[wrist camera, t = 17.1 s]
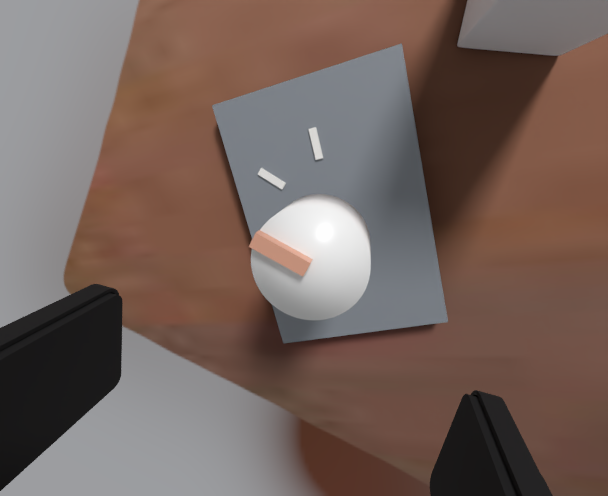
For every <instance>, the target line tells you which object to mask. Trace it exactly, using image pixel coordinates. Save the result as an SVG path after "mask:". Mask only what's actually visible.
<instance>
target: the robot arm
mask: <svg viewBox="0 0 608 496" xmlns="http://www.w3.org/2000/svg"><path fill="white" fill-rule="evenodd" d="M121 345H122V298H121V296H119V293H118V291H117V290H116V289H113V288H110V287H106V286H103V285H99V284H93V285H90V286H88V287H86V288H84V289H82V290H80V291H78V292H75V293H73V294H71V295H69V296H67V297H65V298H63V299H61V300H59V301H56V302H54V303H52V304H50V305H48V306H46V307H44V308H42V309H40V310H38V311H36V312H33V313H31V314H29V315H27V316H25V317H23V318H21V319H18V320H16V321H14V322H12V323H10V324H8V325H6V326H4V327H1V328H0V491H1V490H2V489H3V488H4V487H5V486H6V485H8V484H9V483H10V482H11V481H12V480H13V479H14V478H15V477H16V476H17V475H19V474H20V473H21V472H22V471H23V470H24V469H25V468H26V467H27V466H28V465H30V464H31V463H32V462H33V461H34V460H35V459H36V458H37V457H38V456H40V455H41V454H42V453H43V452H44V451H45V450H46V449H47V448H48V447H50V446H51V445H52V444H53V443H54V442H55V441H56V440H57V439H58V438H59V437H61V436H62V435H63V434H64V433H65V432H66V431H67V430H68V429H69V428H70V427H72V426H73V425H74V424H75V423H76V422H77V421H78V420H79V419H80V418H82V417H83V416H84V415H85V414H86V413H87V412H88V411H89V410H90V409H91V408H93V407H94V406H95V405H96V404H97V403H98V402H99V401H100V400H101V399H103V398H104V397H105V396H106V395H107V394H108V393H109V392H110V391H111V390H113V389H114V388H115V386H116V385H117V384H118V382H119V380H120V377H121V349H122V346H121ZM430 494H431V496H552V494H551V492H550V490H549V488H548V486H547V484H546V482H545V480H544V478H543V477H542V475H541V474H540V472H539V470H538V468H537V466H536V464H535V462H534V460H533V458H532V456H531V454H530V452H529V450H528V448H527V446H526V444H525V442H524V440H523V438H522V436H521V434H520V432H519V430H518V428H517V426H516V424H515V422H514V420H513V418H512V416H511V414H510V412H509V410H508V408H507V406H506V404H505V402H504V401H503V399H502V398H501V397H498V396H495V395H491V394H488V393H484V392H480V391H477V390H475V391H473V392H472V393H471V395H468V394H465V395H464V396H463V397H462V400H461V402H460V405H459V407H458V409H457V412H456V414H455V417H454V419H453V422H452V424H451V427H450V429H449V432H448V434H447V437H446V439H445V442H444V444H443V447H442V449H441V452H440V454H439V457H438V459H437V462H436V464H435V467H434V469H433V471H432V474H431V479H430Z"/></svg>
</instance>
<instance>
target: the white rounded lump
mask: <svg viewBox="0 0 608 496" xmlns="http://www.w3.org/2000/svg"><path fill="white" fill-rule="evenodd" d="M249 247H250V248H252V252H251V267H252V273H253V276H254V279H255V282H256V284H257V286H258V288H259V290H260V291H261V293H262V294H263V295H264V297H265V298H266V299H267V300H268V301H269V302H270V303H271V304H272V305H273V306H275V307H276V308H277V309H279V310H280V311H282V312H284V313H286V314H288V315H290V316H293V317H295V318H299V319H304V320H325V319H329V318H333V317H336V316H338V315H340V314H342V313H344V312H346V311H347V310H349V309H350V308H351V307H353V306H354V305H355V304H356V303H357V302H358V300H359V299H360V298H361V296H362V295H363V293H364V291H365V289H366V287H367V284H368V282H369V277H370V270H371V246H370V235H369V230H368V227H367V225H366V223H365V221H364V219H363V217H362V216H361V215H360V213H359V212H358V211H357V210H356V209H355V208H354V207H353V206H352V205H350V204H349V203H348V202H346V201H344V200H342V199H340V198H338V197H335V196H332V195H326V194H313V195H308V196H304V197H301V198H299V199H297V200H295V201H293V202H292V203H291V204H289V205H288V206H286V207H285V208H284V209H282V210H281V211H280V212H278V213H277V214H276V215H274V216H273V217H272V218H270V219H269V220H268V221H267V222H266V223H265V224H264V225H263V227H262V228H261V229H260V230H258V231H257V232H256V233H255V235H254V237H253V239H252V241H251V243H250V245H249Z"/></svg>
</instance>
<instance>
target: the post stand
mask: <svg viewBox="0 0 608 496" xmlns="http://www.w3.org/2000/svg"><path fill="white" fill-rule="evenodd" d="M212 107H213V110H214V114H215V117H216V120H217V124H218V127H219V130H220V134H221V137H222V140H223V144H224V147H225V150H226V154H227V157H228V160H229V164H230V167H231V170H232V174H233V177H234V180H235V184H236V187H237V190H238V194H239V197H240V200H241V204H242V207H243V210H244V214H245V217H246V220H247V224H248V227H249V230H250V234H251V237H252V239H253V237H254V235H255V233H256V232H257V231H258V230H260V229H261V228H262V227H263V225H264V224H265V223H266V222H267V221H268V220H269V219H270V218H272V217H273V216H274V215H276V214H277V213H278V212H280V211H281V210H282V209H284V208H285V207H286V206H288V205H289V204H291V203H292V202H293V201H295V200H297V199H299V198H301V197H304V196H308V195H313V194H326V195H332V196H335V197H338V198H340V199H342V200H344V201H346V202H348V203H349V204H350V205H352V206H353V207H354V208H355V209H356V210H357V211H358V212H359V213H360V215H361V216H362V217H363V219H364V221H365V223H366V225H367V227H368V230H369V235H370V246H371V270H370V277H369V282H368V284H367V287H366V289H365V291H364V293H363V295H362V296H361V298H360V299H359V300H358V302H357V303H356V304H355V305H354V306H353V307H351V308H350V309H349V310H347V311H346V312H344V313H342V314H340V315H338V316H336V317H333V318H329V319H325V320H304V319H299V318H295V317H293V316H290V315H288V314H286V313H284V312H282V311H280V310H279V309H277V308H276V307H275V306H273V305H272V307H273V310H274V314H275V317H276V320H277V324H278V327H279V330H280V334H281V337H282V340H283V343H291V342H299V341H306V340H314V339H322V338H329V337H337V336H344V335H352V334H360V333H367V332H375V331H382V330H390V329H398V328H405V327H413V326H420V325H428V324H436V323H443V322H448V319H447V313H446V307H445V301H444V295H443V289H442V283H441V277H440V271H439V265H438V259H437V253H436V247H435V241H434V235H433V229H432V223H431V217H430V210H429V204H428V198H427V192H426V186H425V180H424V174H423V168H422V162H421V156H420V150H419V144H418V138H417V132H416V126H415V120H414V114H413V108H412V102H411V96H410V90H409V84H408V78H407V72H406V66H405V60H404V54H403V48H402V44H399V45H396V46H393V47H389V48H386V49H383V50H380V51H377V52H374V53H371V54H368V55H365V56H362V57H359V58H356V59H353V60H350V61H347V62H344V63H341V64H337V65H334V66H331V67H328V68H325V69H322V70H319V71H316V72H313V73H310V74H307V75H304V76H301V77H298V78H295V79H292V80H289V81H286V82H282V83H279V84H276V85H273V86H270V87H267V88H264V89H261V90H258V91H255V92H252V93H249V94H246V95H243V96H240V97H237V98H234V99H231V100H227V101H224V102H221V103H218V104H215V105H212Z"/></svg>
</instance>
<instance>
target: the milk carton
mask: <svg viewBox="0 0 608 496" xmlns="http://www.w3.org/2000/svg"><path fill="white" fill-rule="evenodd" d="M605 34H608V0H467V4H466V9H465V13H464V17H463V22H462V26H461V30H460V35H459V39H458V43H457V46H458V47H461V48H471V49H482V50H494V51H505V52H516V53H528V54H539V55H551V56H559V55H562V54H565V53H567V52H569V51H571V50H573V49H575V48H577V47H580V46H582V45H584V44H586V43H588V42H590V41H593V40H595V39H597V38H599V37H601V36H603V35H605Z"/></svg>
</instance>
